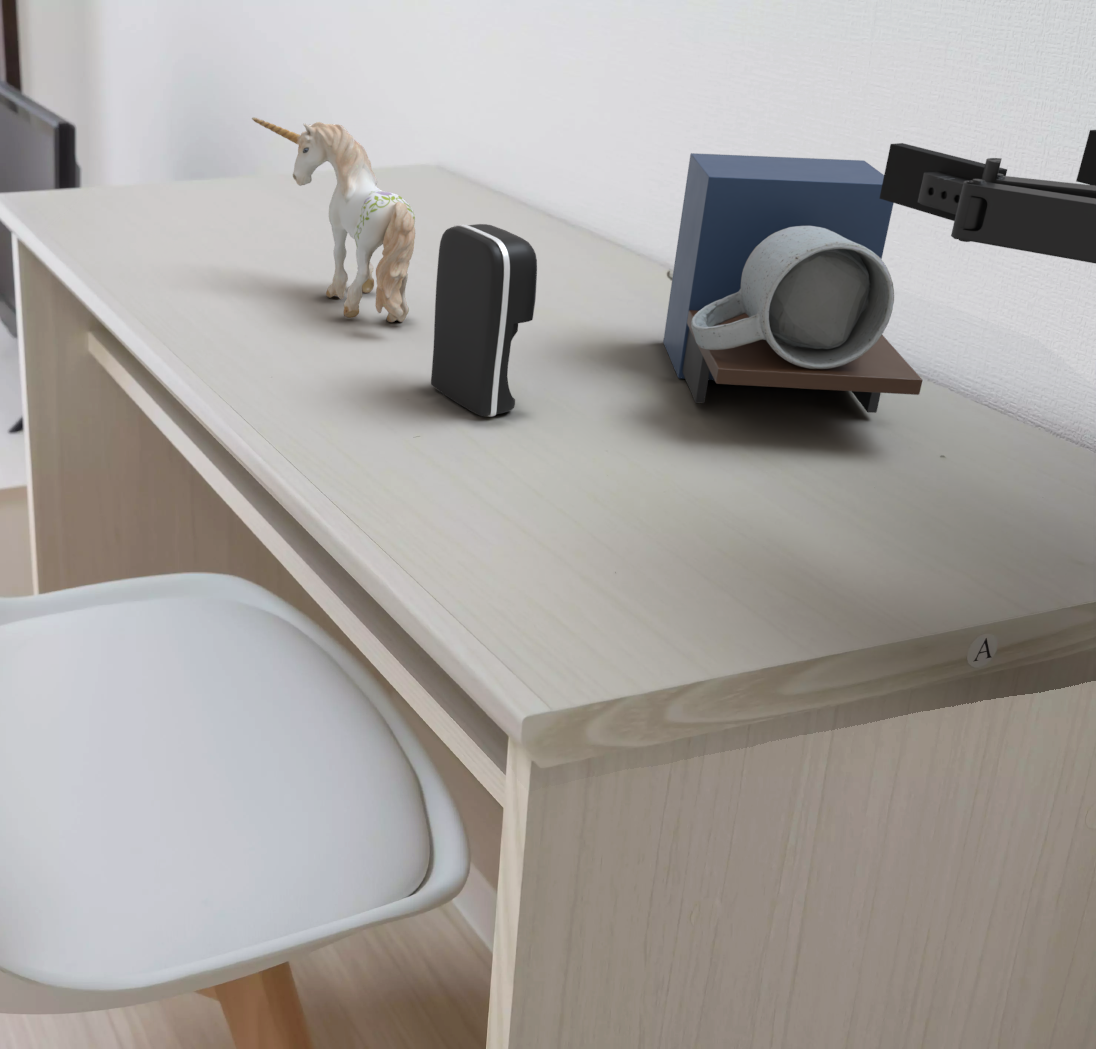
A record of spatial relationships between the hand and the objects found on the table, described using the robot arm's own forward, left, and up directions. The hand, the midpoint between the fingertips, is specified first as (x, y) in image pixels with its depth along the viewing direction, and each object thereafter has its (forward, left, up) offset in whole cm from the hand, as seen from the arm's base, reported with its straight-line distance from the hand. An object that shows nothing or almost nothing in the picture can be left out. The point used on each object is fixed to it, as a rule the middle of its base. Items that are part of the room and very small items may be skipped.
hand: (991, 162), depth 70 cm
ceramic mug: (+7, -9, -14) cm, 18 cm away
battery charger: (+25, -10, -19) cm, 33 cm away
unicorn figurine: (+37, -29, -19) cm, 51 cm away
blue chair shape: (+5, -15, -19) cm, 24 cm away
